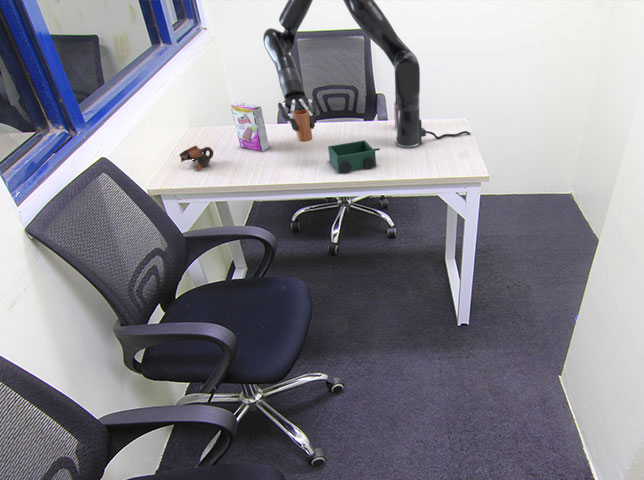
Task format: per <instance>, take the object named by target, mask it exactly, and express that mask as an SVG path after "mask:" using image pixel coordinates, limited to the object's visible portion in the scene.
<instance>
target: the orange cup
mask: <svg viewBox="0 0 644 480" xmlns="http://www.w3.org/2000/svg"><path fill="white" fill-rule="evenodd" d="M293 116H294V120H295V122H296V126H297V131H296V139H297V141H299V142H302V143H306V142H307V143H308V142H310V141H313V139H314V138H313V131H312V130H313V129H311V123H310V117H309V111H307V110H297V111H294V112H293Z"/></svg>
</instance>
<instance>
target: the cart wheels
mask: <svg viewBox="0 0 644 480" xmlns="http://www.w3.org/2000/svg"><path fill="white" fill-rule="evenodd" d="M373 149H374V150H375V152H376V151H380V150H381V148H380V147H377V148H373ZM374 165H375V161H374V160H373V159H372V158H370V157H369V158H366V159H365V161H364V166H365V167H366V168H365V169H368V170H371V169H373V168H375V167H374ZM351 168H352V167H351V164H350V163H349V162H343V163H342V164H341V166H340V169H341V171H342V172H343V173H344V174H349V173H350V172H352V171H351ZM343 173H342V174H343Z"/></svg>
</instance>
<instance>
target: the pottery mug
mask: <svg viewBox="0 0 644 480" xmlns="http://www.w3.org/2000/svg"><path fill="white" fill-rule="evenodd" d="M207 152H209V154H208V155H207ZM214 154H215V153H214V150H213V149H212V148H211V146H205V147H203V148H199V147H198V145H193V146H191V147H189V148H187V149H185V150H184V151H183V150H182V152H181V153H179V157H180V162H181V163H183V162H185V161H190V160H191V161H192V162H193V163H195V162H197V163H196V164H194V165H193V166H194V168H195V169H196V171H197V172H199V171H200V170H202V169H205V168H208V167H210V163H211V162H210V161H211V159H212V158H213V157H214ZM192 159H194V160H192Z"/></svg>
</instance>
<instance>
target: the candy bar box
mask: <svg viewBox="0 0 644 480" xmlns="http://www.w3.org/2000/svg"><path fill="white" fill-rule="evenodd" d="M230 109H231V113H232V117H233V121H234V126H235V130H236V135H237V138H238V143H239V147H240V148H243V149H247V150H251V151H257V152H264V151H266V150H268V149H269V148H270V145H269V140H268V135H267V130H266V125H265V119H264V115H263V111H262V106H261V105H256V104H251V103H250V104H249V103H245V102H235V103H234V104H231V105H230Z"/></svg>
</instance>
